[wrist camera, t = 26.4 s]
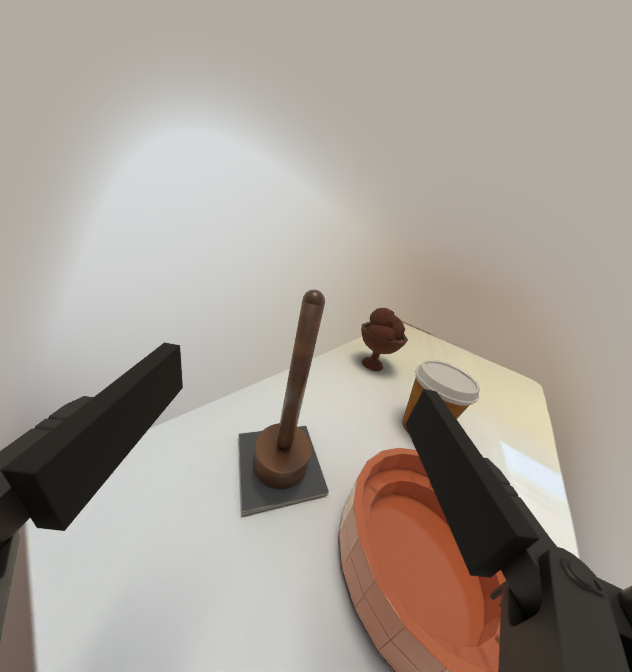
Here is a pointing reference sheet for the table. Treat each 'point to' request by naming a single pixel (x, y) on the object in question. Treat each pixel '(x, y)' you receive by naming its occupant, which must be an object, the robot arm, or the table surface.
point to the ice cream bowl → (382, 336)
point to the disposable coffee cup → (443, 387)
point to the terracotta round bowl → (414, 573)
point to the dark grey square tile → (266, 497)
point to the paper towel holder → (291, 408)
